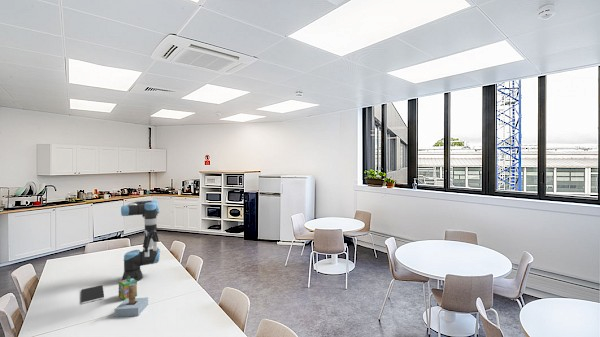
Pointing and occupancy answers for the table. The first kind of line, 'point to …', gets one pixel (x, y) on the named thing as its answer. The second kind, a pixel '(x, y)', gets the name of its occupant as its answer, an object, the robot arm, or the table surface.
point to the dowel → (132, 295)
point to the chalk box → (126, 287)
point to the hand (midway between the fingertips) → (151, 253)
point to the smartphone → (92, 294)
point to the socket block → (131, 307)
